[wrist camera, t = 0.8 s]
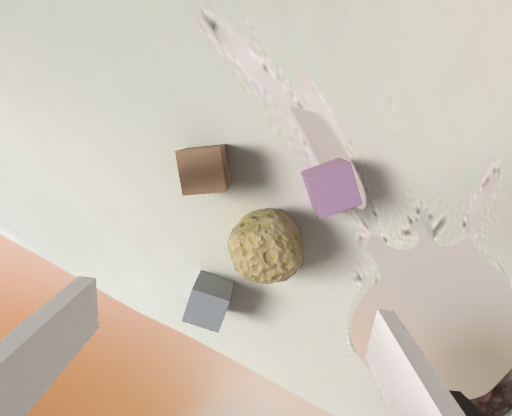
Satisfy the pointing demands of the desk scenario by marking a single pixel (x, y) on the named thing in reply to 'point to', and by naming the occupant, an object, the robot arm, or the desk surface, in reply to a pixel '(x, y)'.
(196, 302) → the slate cube
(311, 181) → the plum cube
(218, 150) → the walnut cube
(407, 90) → the desk surface
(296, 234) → the decorative object
